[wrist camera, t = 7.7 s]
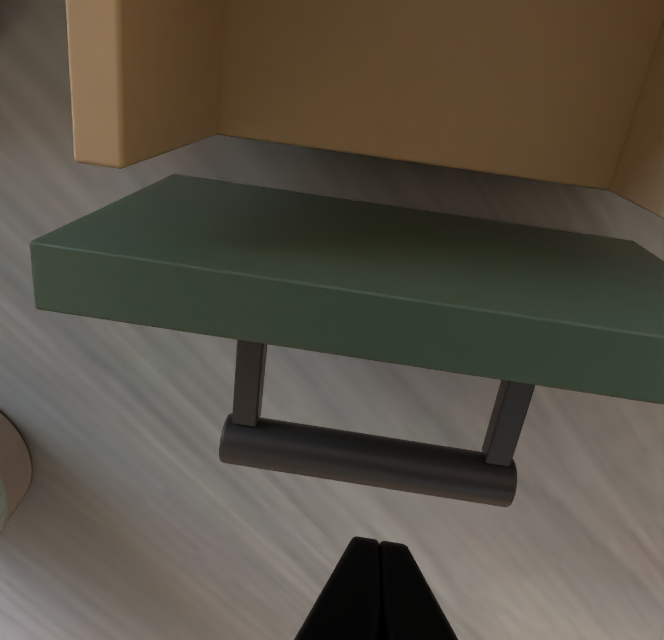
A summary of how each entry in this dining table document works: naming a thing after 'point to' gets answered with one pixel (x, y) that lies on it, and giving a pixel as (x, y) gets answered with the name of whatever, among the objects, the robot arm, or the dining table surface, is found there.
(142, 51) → the drawer
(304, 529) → the dining table surface
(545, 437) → the dining table surface
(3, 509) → the coffee cup
